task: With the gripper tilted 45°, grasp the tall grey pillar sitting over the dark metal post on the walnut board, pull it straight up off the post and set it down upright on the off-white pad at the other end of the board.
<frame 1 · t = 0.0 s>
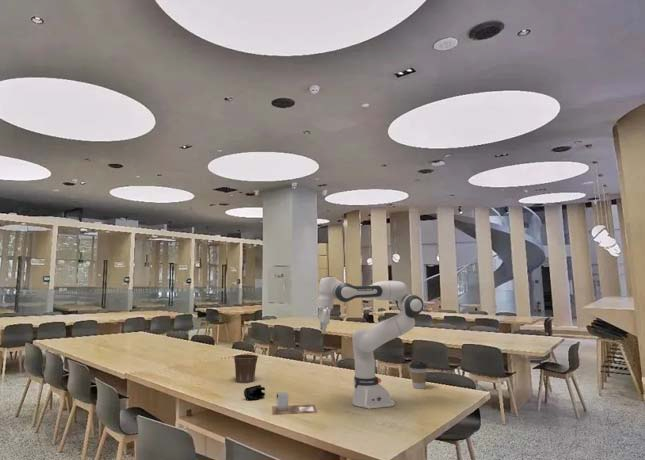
hand: (322, 330, 219), 39 cm above the table, tool pointing down, fingers open, 8 cm apart
end cap: (254, 399, 227), on the table
plant pot: (245, 381, 269), on the table
coffee cup: (419, 388, 250), on the table
tall grey pillar: (282, 409, 202), point 1 cm above the table, touching walnut board
walnut board: (294, 412, 202), on the table
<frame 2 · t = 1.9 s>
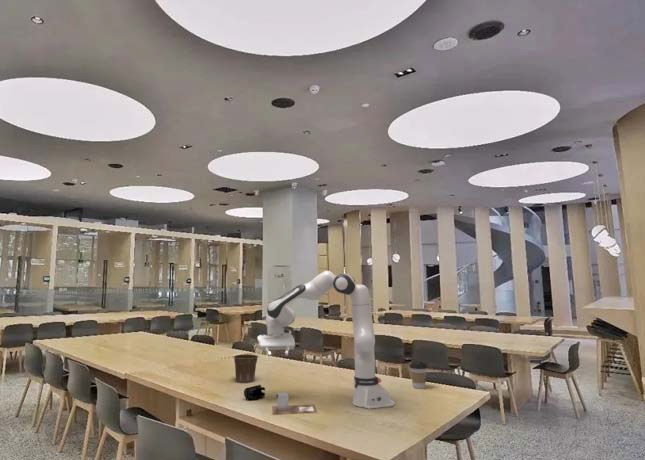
hand: (278, 355, 217), 26 cm above the table, tool tilted 45°, fingers open, 8 cm apart
nothing on the table moved.
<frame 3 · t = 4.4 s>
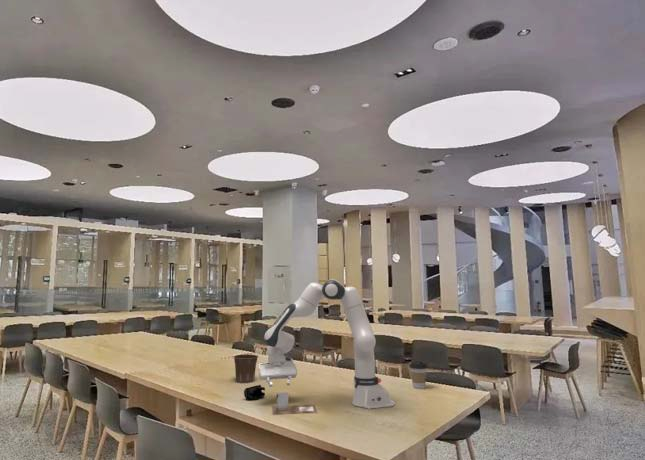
hand: (279, 385, 210), 12 cm above the table, tool tilted 45°, fingers open, 8 cm apart
nothing on the table moved.
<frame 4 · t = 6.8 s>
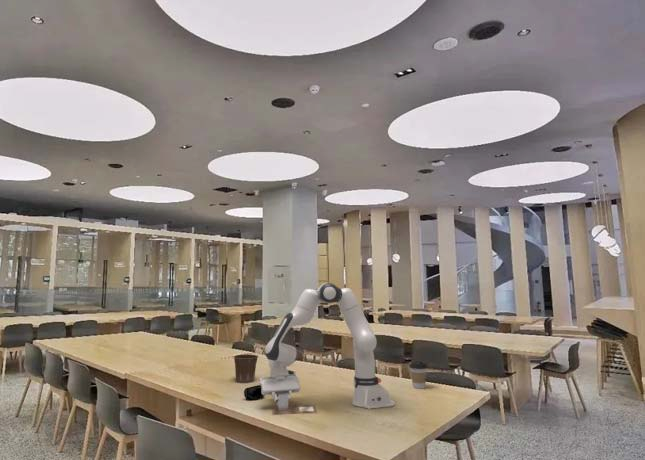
hand: (282, 400, 202), 6 cm above the table, tool tilted 45°, fingers closed on tall grey pillar, 5 cm apart
tall grey pillar: (282, 409, 202), point 1 cm above the table, touching gripper, walnut board
everything else where it was.
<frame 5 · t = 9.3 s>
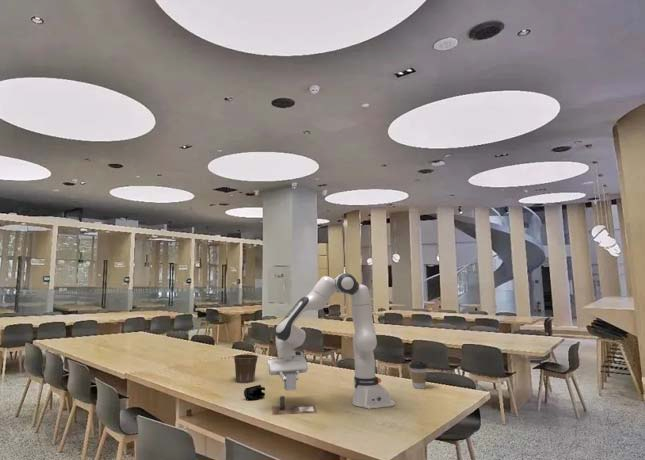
hand: (290, 380, 204), 16 cm above the table, tool tilted 45°, fingers closed on tall grey pillar, 5 cm apart
tall grey pillar: (290, 389, 204), point 11 cm above the table, touching gripper
everything else where it was.
when the fingers open (8 cm above the table, at t = 12.0 s): tall grey pillar drops 2 cm, resting on walnut board.
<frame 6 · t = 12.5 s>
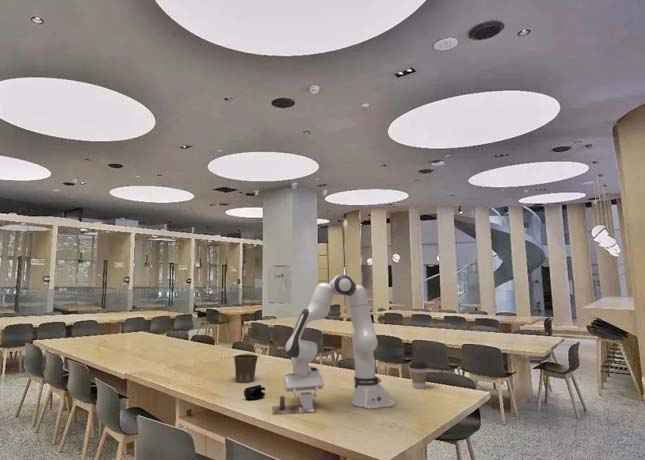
hand: (306, 397, 202), 8 cm above the table, tool tilted 45°, fingers open, 8 cm apart
tall grey pillar: (306, 408, 202), point 2 cm above the table, touching walnut board
everything else where it was.
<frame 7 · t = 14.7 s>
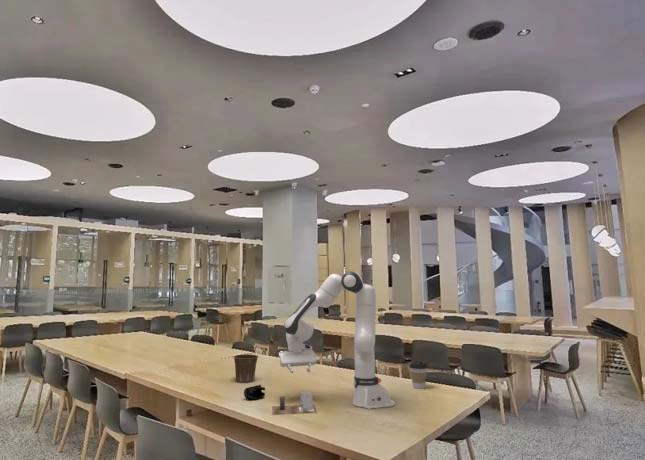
hand: (300, 371, 216), 17 cm above the table, tool tilted 45°, fingers open, 8 cm apart
nothing on the table moved.
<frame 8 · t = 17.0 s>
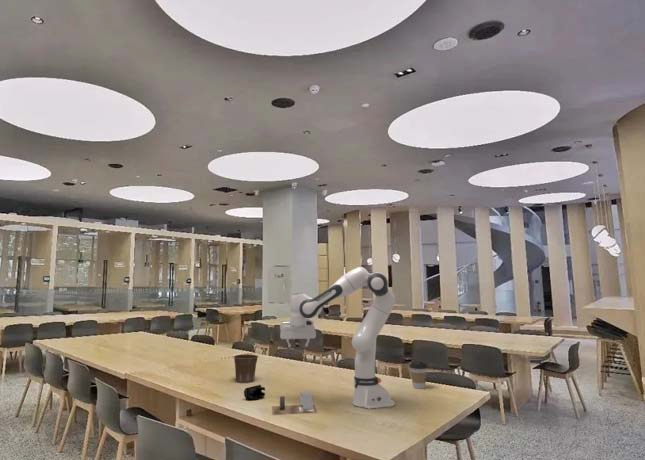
hand: (298, 347, 226), 29 cm above the table, tool pointing down, fingers open, 8 cm apart
nothing on the table moved.
at the end: tall grey pillar inside the target area (0.0 cm from its centre), point 1.8 cm above the table; tall grey pillar tilted 0°; the gripper is holding nothing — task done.
